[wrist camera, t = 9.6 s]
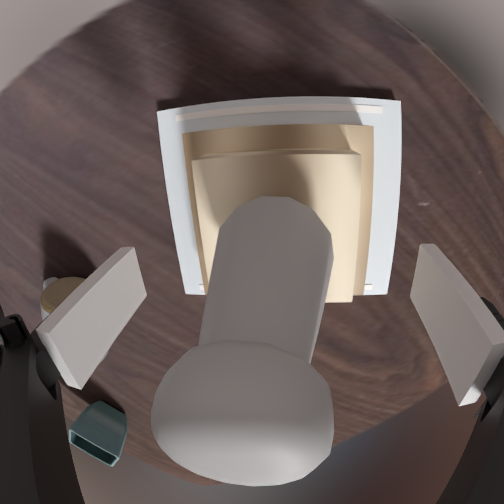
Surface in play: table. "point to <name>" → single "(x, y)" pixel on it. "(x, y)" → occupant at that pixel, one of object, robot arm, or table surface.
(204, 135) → the birch plinth
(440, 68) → the table surface
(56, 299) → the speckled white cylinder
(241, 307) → the salt shaker
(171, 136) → the board
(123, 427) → the flower pot
